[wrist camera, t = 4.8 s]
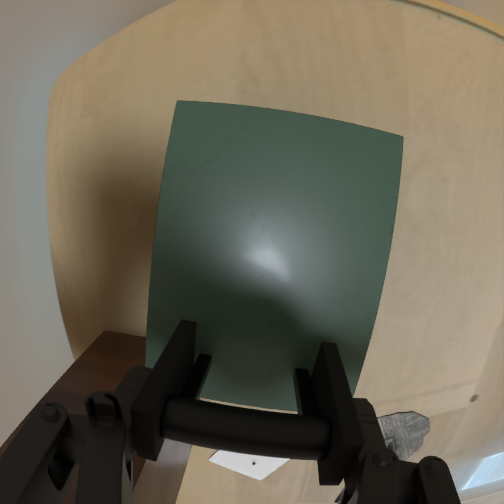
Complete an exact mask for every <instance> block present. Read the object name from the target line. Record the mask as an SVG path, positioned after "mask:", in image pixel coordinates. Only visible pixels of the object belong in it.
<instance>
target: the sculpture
mask: <svg viewBox="0 0 504 504" xmlns="http://www.w3.org/2000/svg"><path fill="white" fill-rule="evenodd" d="M377 419H378V423H379V425H380V428H381V431H382V434H383V437H384V440H385V443H386V447H387V448H389V449H391V450H392V451H394V452H395V453H396V454H397V456H398V457H399V459H400V460H403V461H405V460H407V459H408V458H409V457H410V456H411V455H413V454H414V453H415V452H417V451H418V450H419V449H420V447H421V446H422V444H423V437H424V436H425V435H426V434H427V433H428V432H429V430H430V422H429V419H427V418H425V417H423V416H421V415H418V414H416V413H414V412H410V413H397V414H394V415H391V416H383V417H381V418H377Z"/></svg>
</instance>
